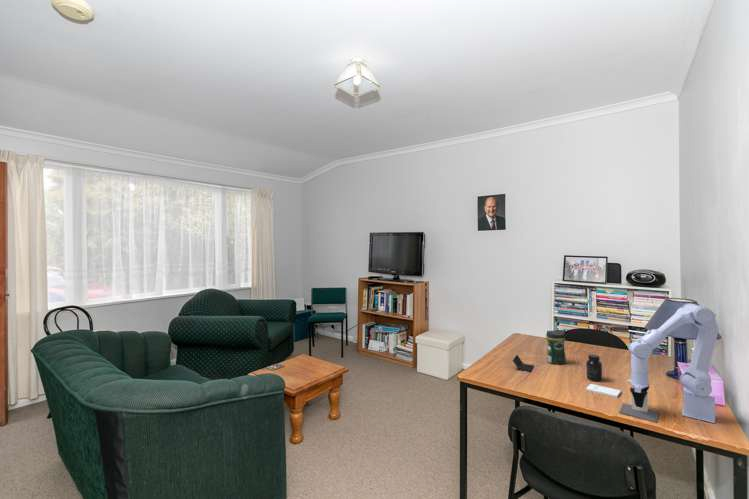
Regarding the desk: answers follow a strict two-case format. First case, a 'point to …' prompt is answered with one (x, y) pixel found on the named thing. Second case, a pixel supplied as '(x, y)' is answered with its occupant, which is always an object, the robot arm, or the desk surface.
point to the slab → (645, 404)
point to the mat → (639, 413)
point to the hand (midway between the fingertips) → (639, 404)
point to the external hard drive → (604, 390)
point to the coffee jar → (556, 347)
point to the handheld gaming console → (522, 366)
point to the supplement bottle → (594, 368)
